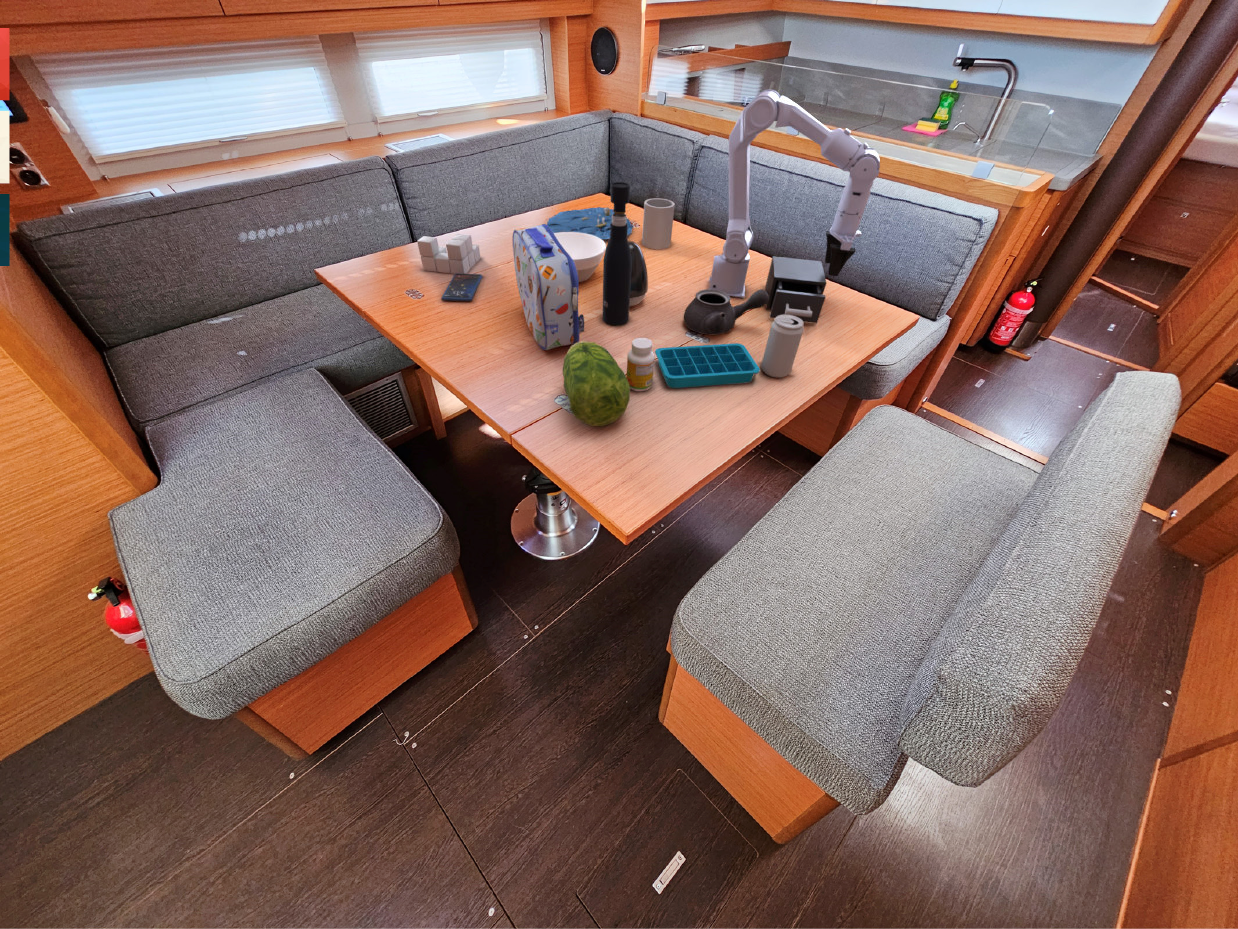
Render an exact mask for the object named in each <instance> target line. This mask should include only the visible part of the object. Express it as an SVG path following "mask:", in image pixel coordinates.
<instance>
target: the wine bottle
mask: <svg viewBox="0 0 1238 929" xmlns="http://www.w3.org/2000/svg"><path fill="white" fill-rule="evenodd" d="M630 188H631V186H630V183H627V182H624V181H615V182H612V183H611V184H610V203H612V204H613V212H614V214H612V217H611V218H612V220H611V221H612V223H611V224H610V238H609V239H608V241H607V244H606V250H605V252H604V255H603V259H602V260H603V265H602V267H603V269H602V271H603V272H602V317H601V318H602V321H603V323H605V324H606V325H609V326H614V327H617V326H619V327H620V326H624V325H626V324H627V323H628V322H629V320H630V306H629V304H630V286H631V268H632V258H631V251H630V246H629V243H628V241H629V240H628V236H627V230H628V225H627V220H626V219H628V216H627V214H626V212H627V209H626V208H627V206H626V205H628V204H629V203H630V192H631V190H630Z"/></svg>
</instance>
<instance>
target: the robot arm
mask: <svg viewBox="0 0 1238 929" xmlns="http://www.w3.org/2000/svg"><path fill="white" fill-rule="evenodd" d="M774 122H775V123H776V124H775V126H774V128H777V129H778V128H786V127H790V128H792V129H793V130H795V131H797V132H798V133H800V134H801V135H803V136H804V137H806V138H808V139H809V140H811V141H813V142H814V143H815V144H817V145H819V147H820V155H821V156H822V157H824V159H826V160H828V161H829V162H830V163H831V164H833V165H835V166H836V167H837V168H838V169H840V170H842V171H843V172H848V173H849V174H848V179H847V181H846V184H845V186H844V188H843V191H842V194H841V196H840V199H839V203H838V207H837V209H836V212H835V214H834V215H835V216H834V219H833V221H832V225H831V227H830V229H829V230H827V231H825V235H826V249H825V257H824V263H825V264H829V265H828V276H831V277H838V276H839V274H840V273H841V271H842V270H843V268H844V266H845V265H846V263H847V262H848V260H850V258H851V257H852V256H853V255H855V253H856V251H857V250H856V248H855V247H852V244H853V241H854V240H855V238H857V237H858V238H859V237H861V236H862V232H861V231H860V230H859V226H860V223H861V220H862V218H863V215H864V212H865V210H866V206H867V204H868V201H869V197H870V195H871V189H872V187H873V185H874V180H876V179H877V178H878V176H879V174H880V172H881V171H880V169H881V163H880V162H881V161H880V160H881V159H880V155H879V154H878V152H877V151H876V150H875V148H874V147H869V144H868V143H867V142H864V143H861V141H859V140H858V139H856V138H854V136H852V135H851V130H850V129H849V128H845V129H844V130H843V129H842V128H839V127H838V128H836V129H830V128H828V127H827V126H826V125H824V124H823V123H822V122H820V121H819V120H818V119H816V118H815V117H814V116H813V115H812V114H810V113H809V112H808V111H807V110H805V109H804V108H803V107H802V106H800V105H799V104H797V103H796V102H795V101H793V100H791V99H790V98H788V97H787V96H785V95H780V94H779V92H777V91H776V90H775V89H764V90H763V91H761V92H759V93H758V94H757V96H755V97H754V98H753V99H752V100H751V101H750V102H749V103H748V104H747V105H745V107H743V109H742V111H741V113H740V116H739V117H738V119H737V121H736V123H735V125H734V127H733V128H732V130H731V132H730V133H729V136H728V224H727V229H726V239H725V242H724V243H723V246H722V254H718V255H714V256H713V262H712V269H711V274H710V276H709V278H708V279H709V280H708V284H709V286H708V287H709V288H708V289H715V290H719V291H723V292H725V293H727V294H728V295H729V296H730V297H732V298H733V297H734V298H741V299H743V298H745V292H746V290H745V289H746V284H745V283H746V279H747V274H748V269H749V264H750V260H751V256H750V254H749V250H750V248H751V247H752V245H753V243H754V239H755V236H754V232H753V230H752V228H751V218H750V184H751V183H750V182H751V181H750V180H751V143H752V142H753V141H754V140H755V139H756V137H757V136H758V135H759V134H761V133H762V132H764V131H766V130H767V129H769V128H770V127H771V126H772V125H773V124H774Z"/></svg>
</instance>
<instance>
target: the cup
mask: <svg viewBox="0 0 1238 929" xmlns="http://www.w3.org/2000/svg"><path fill="white" fill-rule="evenodd" d="M675 207H676V204H675V202H674V201H672V200H670V199H666V198H658V197H657V198H656V197H655V198H647V199H646V200H645V201H644V202H643V218H642V220H643V221H642V234H641V245H642V246H643V247H644V248H647V249H651V250H667V249H668V248H670V247H671V244H672V234H673V225H674V218H675V217H674V215H675Z"/></svg>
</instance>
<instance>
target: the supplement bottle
mask: <svg viewBox="0 0 1238 929" xmlns="http://www.w3.org/2000/svg"><path fill="white" fill-rule="evenodd" d="M655 359H656V354H655V352H653V341H652V340H651V339H649V338H647V337H636V338H634V339H633V340H632V341H631V349H630V350H629V351H628V353H627V359H626V360H627V361H626V374H625V375H626V378H627V380H628V383H629V387H630V390H631V391H635V392H644V391H648V390H650V389H651V387H652V386H653V379H654V369H655Z"/></svg>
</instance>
